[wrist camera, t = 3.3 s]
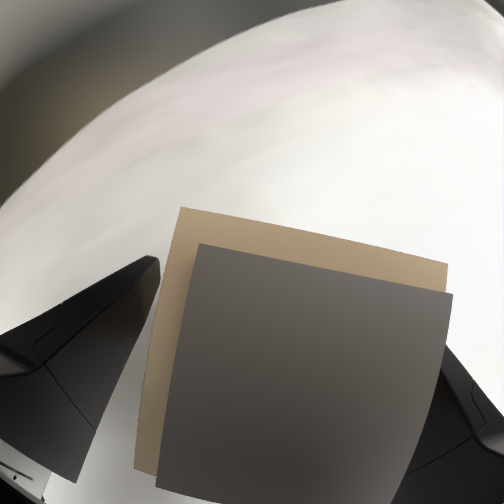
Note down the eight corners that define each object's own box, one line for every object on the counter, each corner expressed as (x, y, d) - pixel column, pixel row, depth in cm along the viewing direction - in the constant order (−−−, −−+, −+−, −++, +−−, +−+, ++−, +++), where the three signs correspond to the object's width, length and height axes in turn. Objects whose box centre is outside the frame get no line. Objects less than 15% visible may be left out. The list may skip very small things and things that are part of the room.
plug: (295, 367, 15) (407, 532, 2) (220, 352, 15) (107, 500, 2) (310, 294, 16) (489, 252, 3) (235, 279, 16) (158, 177, 3)
